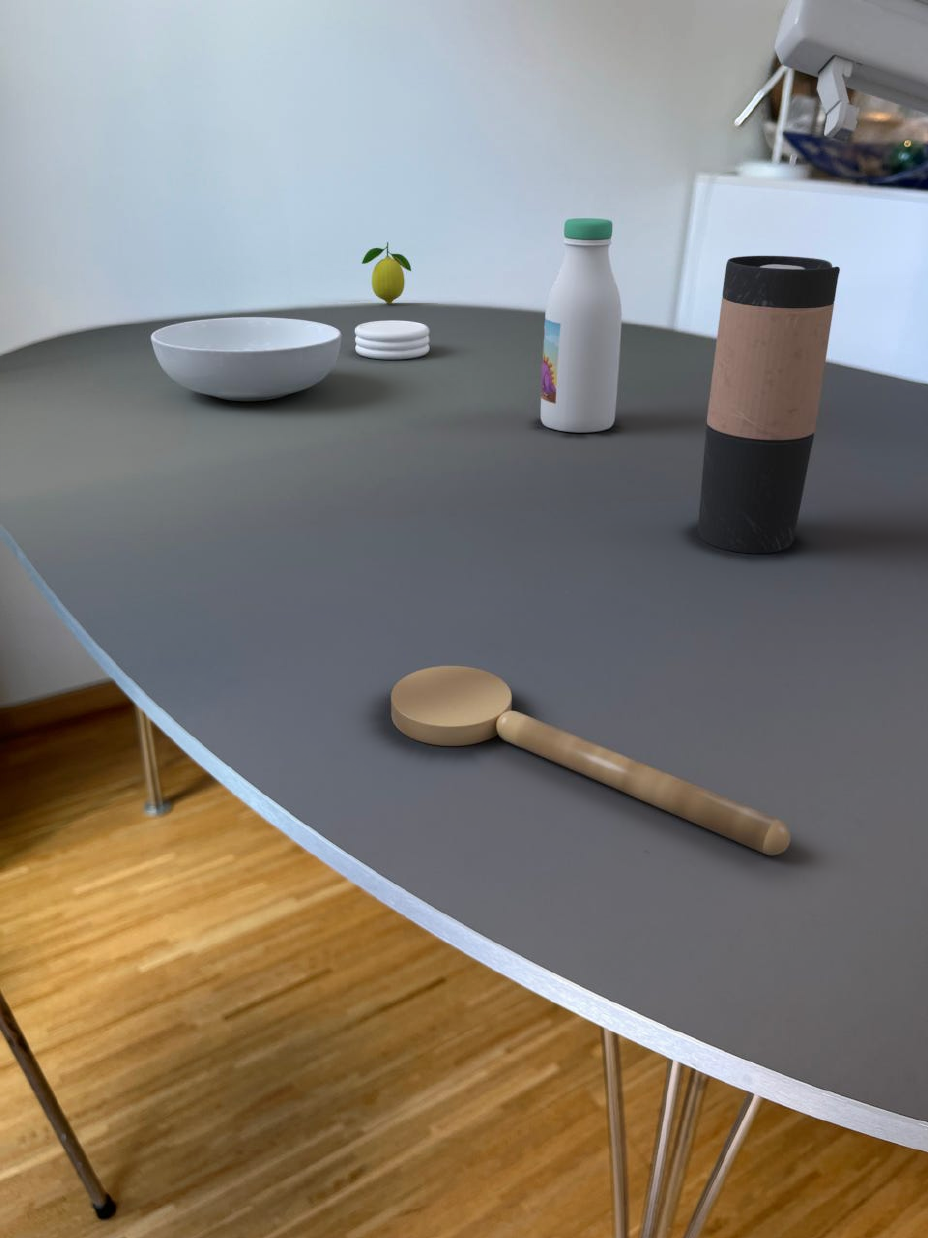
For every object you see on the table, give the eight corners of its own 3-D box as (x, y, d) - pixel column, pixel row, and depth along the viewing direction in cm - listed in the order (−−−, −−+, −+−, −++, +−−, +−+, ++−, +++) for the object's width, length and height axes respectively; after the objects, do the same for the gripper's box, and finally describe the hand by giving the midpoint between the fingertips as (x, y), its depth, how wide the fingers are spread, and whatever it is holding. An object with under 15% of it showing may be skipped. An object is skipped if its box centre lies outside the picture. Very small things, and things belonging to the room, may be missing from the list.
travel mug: (673, 533, 79) (702, 260, 71) (734, 512, 84) (768, 252, 75) (756, 563, 74) (798, 272, 65) (817, 539, 79) (864, 263, 70)
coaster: (401, 363, 133) (401, 336, 132) (340, 354, 138) (339, 327, 136) (443, 350, 141) (443, 324, 139) (384, 342, 145) (383, 317, 144)
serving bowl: (333, 416, 109) (330, 350, 106) (136, 415, 109) (127, 349, 106) (351, 372, 128) (349, 315, 125) (183, 371, 128) (176, 314, 125)
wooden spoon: (815, 823, 47) (820, 794, 46) (753, 897, 42) (759, 866, 42) (444, 672, 59) (444, 648, 58) (366, 717, 55) (365, 691, 54)
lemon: (362, 305, 174) (360, 242, 169) (376, 300, 179) (374, 239, 174) (399, 308, 172) (398, 244, 168) (412, 302, 177) (411, 241, 173)
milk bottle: (623, 419, 109) (639, 218, 100) (601, 438, 103) (615, 224, 94) (555, 411, 112) (564, 214, 103) (528, 428, 106) (536, 220, 97)
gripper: (823, -109, 69) (786, 84, 68) (1088, -11, 72) (1057, 174, 71) (778, -44, 75) (743, 133, 74) (1024, 43, 78) (994, 214, 77)
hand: (899, 154), depth 72 cm, fingers open, 8 cm apart
